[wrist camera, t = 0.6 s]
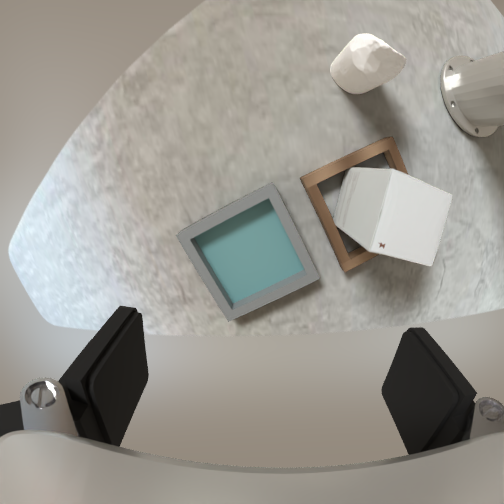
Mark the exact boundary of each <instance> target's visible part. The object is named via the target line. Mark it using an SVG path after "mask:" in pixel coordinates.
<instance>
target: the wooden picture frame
mask: <svg viewBox="0 0 504 504" xmlns="http://www.w3.org/2000/svg"><path fill="white" fill-rule="evenodd" d="M382 152H383V153H384V155H385V157H386V160H387V162H388V165H389V167H390V169H395V170H398V171H400V172H403V173H405V174H407V175H408V173H407V170H406V168H405V165H404V163H403V160H402V158H401V155H400V153H399V150H398V148H397V145H396V143H395V141H394V139H393V137H386V138H384V139H381V140H379V141H377V142H375V143H372V144H370V145H368V146H366V147H364V148H361V149H359V150H357V151H355V152H353V153H351V154H348V155H346V156H344V157H342V158H340V159H338V160H336V161H334V162H331V163H329V164H327V165H325V166H323V167H321V168H319V169H317V170H315V171H313V172H311V173H309V174H306V175H304V176H302V177H300V180H301V182H302V184H303V186H304V188H305V190H306V192H307V194H308V196H309V198H310V200H311V202H312V205H313V207H314V209H315V211H316V213H317V215H318V217H319V219H320V222H321V224H322V226H323V228H324V230H325V232H326V235H327V237H328V239H329V241H330V244H331V246H332V248H333V250H334V253H335V255H336V257H337V260H338V262H339V264H340V267H341V268H342V269H343V270H344V272H347V271H349V270H351V269H352V268H354V267H356V266H358V265H360V264H362V263H364V262H366V261H368V260H370V259H371V258H373V257H375V256H377V255H379V254H376V253H372V252H369V251H367V250H366V249H365V248H364V247H362V246H361V247H359V248H358V249H356V250H354V251H352V252H350V253H347V251H346V248H345V246H344V244H343V241H342V239H341V237H340V234H339V232H338V230H337V227H336V225H335V223H334V221H333V218H332V216H331V214H330V212H329V210H328V207H327V205H326V203H325V201H324V199H323V197H322V194H321V192H320V190H319V188H318V186H317V183H319V182H321V181H323V180H325V179H327V178H329V177H331V176H333V175H335V174H338V173H340V172H342V171H344V170H346V169H348V168H350V167H352V166H354V165H356V164H358V163H361V162H363V161H365V160H367V159H369V158H371V157H373V156H376V155H378V154H380V153H382Z"/></svg>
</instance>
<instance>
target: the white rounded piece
mask: <svg viewBox="0 0 504 504" xmlns="http://www.w3.org/2000/svg"><path fill="white" fill-rule="evenodd" d="M405 63H406V58H405V57H404V56H403V55H402V54H400V53H398V52H397V51H395V50H394V49H393V48H392V47H391V46H389V45H388V44H386V43H385V42H384V41H383V40H381V39H379V38H377V37H375V36H373V35H371V34H359V35H356V36H355V37H354V38H353V39H352V40H351V41H350V42H349V43H348V44H347V45H346V46H345V48H344V49H343V50H342V51H341V52H340V53H339V55H338V56H337V57H336V58H335V60H334V61H333V62H332V64H331V67H330V73H331V75H332V78H333V79H334V81H335V82H336V83H337V84H338V86H340V87H341V88H342V89H343V90H345V91H347V92H348V93H351V94H363V93H366V92H368V91H370V90H372V89H374V88H376V87H378V86H380V85H382V84H384V83H387V82H389V81H390V80H392V79H393V78H395V77H396V76H397V75H398V74H399V73H400V72H401V70H402V69H403V68H404V66H405Z"/></svg>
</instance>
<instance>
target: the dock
mask: <svg viewBox="0 0 504 504" xmlns="http://www.w3.org/2000/svg"><path fill="white" fill-rule="evenodd" d="M176 237H177V238H178V240H179V242H180V243H181V245H182V247H183V249H184V250H185V252H186V254H187V255H188V257H189V259H190V260H191V262H192V264H193V265H194V267H195V269H196V270H197V272H198V274H199V275H200V277H201V279H202V280H203V282H204V283H205V285H206V287H207V288H208V290H209V292H210V293H211V295H212V296H213V298H214V300H215V301H216V303H217V304H218V306H219V308H220V309H221V311H222V312H223V314H224V315H225V317H226V319H227V320H228V322H229V321H231V320H233V319H236V318H238V317H240V316H242V315H244V314H247V313H249V312H251V311H253V310H255V309H258V308H260V307H262V306H264V305H266V304H268V303H270V302H273V301H275V300H277V299H279V298H281V297H283V296H285V295H287V294H290V293H292V292H294V291H296V290H298V289H300V288H302V287H304V286H306V285H308V284H310V283H312V282H314V281H316V280H318V279H320V277H319V275H318V273H317V271H316V269H315V266H314V264H313V262H312V260H311V258H310V256H309V254H308V252H307V250H306V247H305V245H304V243H303V241H302V239H301V237H300V235H299V233H298V231H297V229H296V227H295V225H294V223H293V221H292V219H291V217H290V215H289V213H288V211H287V209H286V207H285V205H284V203H283V201H282V199H281V197H280V195H279V193H278V191H277V189H276V187H275V185H274V183H273V182H271V183H269V184H267V185H265V186H263V187H261V188H259V189H257V190H255V191H253V192H252V193H250V194H248V195H246V196H244V197H242V198H240V199H238V200H236V201H234V202H232V203H230V204H229V205H227V206H225V207H223V208H221V209H219V210H217V211H216V212H214V213H212V214H210V215H208V216H206V217H204V218H203V219H201V220H199V221H197V222H195V223H194V224H192V225H190V226H188V227H186V228H185V229H183V230H181V231H180V232H179V233H178V234H177V235H176Z"/></svg>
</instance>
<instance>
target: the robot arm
mask: <svg viewBox="0 0 504 504" xmlns="http://www.w3.org/2000/svg"><path fill="white" fill-rule="evenodd" d="M441 91H442V95H443V99H444V102H445V104H446V107H447V109H448V111H449V113H450V115H451V116H452V118H453V119H454V121H455V122H456V123H457V124H458V125H459V126H460V128H461V129H463V130H464V131H465V132H466V133H468V134H470V135H472V136H475V137H487V136H490V135H492V134H493V133H494V132H495V131H496V129H497V128H498V126H504V51H503V52H500V53H497V54H494V55H491V56H488V57H485V58H482V59H479V60H476V61H475V60H474V59H472V58H470V57H467V56H455V57H453V58H451V59H449V60H448V61H447V62H446V63H445V64H444V66H443V68H442V72H441ZM147 381H148V366H147V359H146V351H145V341H144V331H143V320H142V314H141V313H138V312H137V309H136V308H132V307H125V306H120V307H118V309H117V310H116V311H115V312H114V313H113V315H112V316H111V317H110V318H109V319H108V320H107V322H106V323H105V324H104V325H103V326H102V328H101V329H100V330H99V331H98V333H97V334H96V335H95V336H94V337H93V339H91V340H90V342H89V343H88V344H87V345H86V347H85V348H84V349H83V350H82V352H81V353H80V354H79V355H78V357H77V358H76V359H75V361H74V362H73V363H72V364H71V365H70V367H69V368H68V369H67V371H66V372H65V373H64V374H63V376H62V377H61V378H60V380H59V381H56V380H53V379H51V378H38V379H34V380H32V381H30V382H28V383H27V384H26V385H25V386H24V387H23V388H22V391H21V393H20V401H16V402H11V403H7V404H3V405H0V504H504V406H503V405H502V404H501V403H500V402H499V401H497V400H495V399H493V398H489V397H483V398H480V399H478V400H477V401H476V403H474V401H473V399H474V398H475V396H476V394H477V392H476V391H475V390H474V388H473V387H472V386H471V385H470V383H469V382H468V381H467V379H466V378H465V377H464V376H463V374H462V373H461V372H460V371H459V369H458V368H457V367H456V366H455V364H454V363H453V362H452V361H451V359H450V358H449V357H448V356H447V355H446V354H445V352H444V351H443V350H442V349H441V347H440V346H439V345H438V344H437V343H436V342H435V340H434V339H433V338H432V337H431V336H430V334H429V333H428V332H427V331H426V330H425V329H424V328H409V329H408V330H407V331H406V332H404V333H403V335H402V338H401V341H400V344H399V346H398V349H397V351H396V354H395V357H394V359H393V362H392V365H391V367H390V369H389V372H388V374H387V377H386V379H385V381H384V384H383V386H382V395H383V398H384V400H385V402H386V404H387V406H388V408H389V411H390V413H391V415H392V418H393V420H394V422H395V424H396V426H397V429H398V431H399V433H400V436H401V438H402V440H403V443H404V445H405V447H406V449H407V452H408V454H409V455H406V456H402V457H396V458H391V459H385V460H379V461H372V462H365V463H358V464H349V465H338V466H325V467H306V468H262V467H261V468H260V467H241V466H228V465H218V464H208V463H200V462H193V461H186V460H180V459H174V458H169V457H164V456H158V455H153V454H148V453H143V452H139V451H134V450H130V449H126V448H122V447H120V444H121V442H122V439H123V437H124V435H125V432H126V430H127V427H128V425H129V423H130V420H131V418H132V416H133V413H134V411H135V409H136V406H137V404H138V402H139V400H140V397H141V395H142V393H143V390H144V388H145V386H146V384H147Z"/></svg>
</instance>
